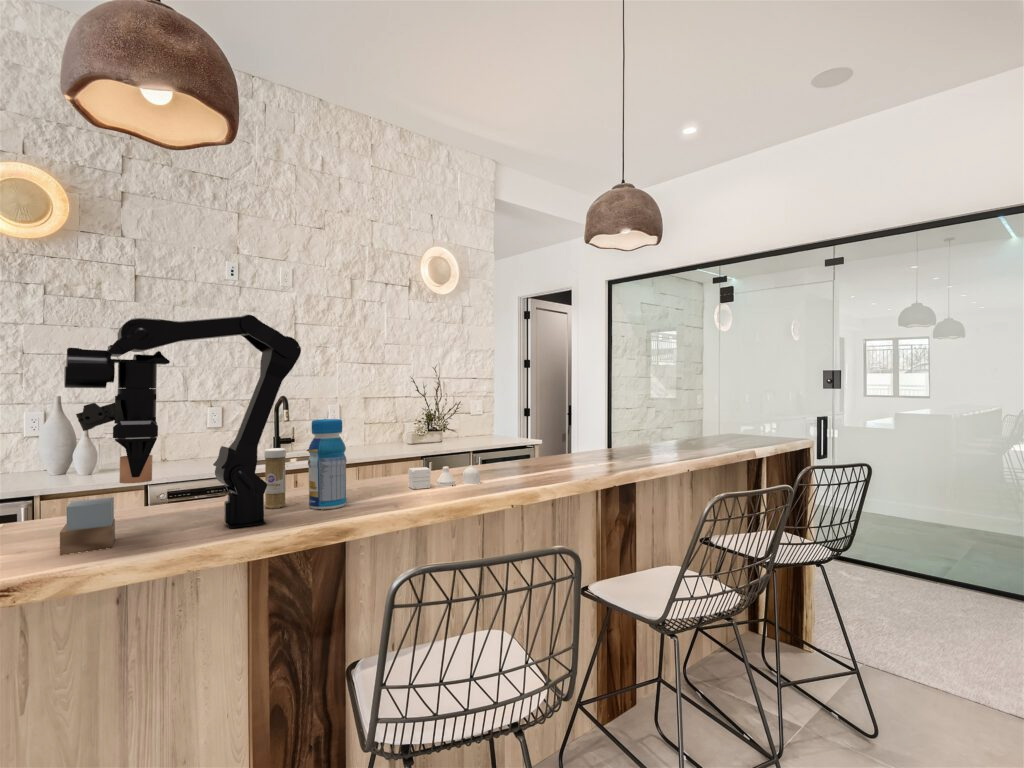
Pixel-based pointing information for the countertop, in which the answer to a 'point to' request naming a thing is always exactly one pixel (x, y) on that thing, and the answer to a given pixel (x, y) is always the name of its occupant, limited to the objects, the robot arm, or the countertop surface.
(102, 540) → the tower base
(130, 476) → the tan cylinder
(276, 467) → the sprinkles bottle
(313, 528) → the countertop surface
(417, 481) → the container set
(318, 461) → the beverage bottle
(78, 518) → the tower top
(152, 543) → the countertop surface
